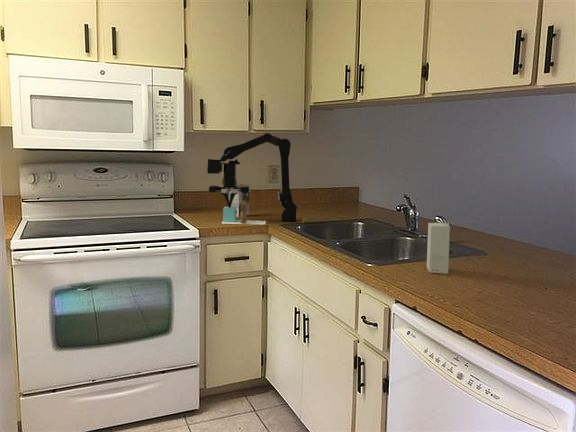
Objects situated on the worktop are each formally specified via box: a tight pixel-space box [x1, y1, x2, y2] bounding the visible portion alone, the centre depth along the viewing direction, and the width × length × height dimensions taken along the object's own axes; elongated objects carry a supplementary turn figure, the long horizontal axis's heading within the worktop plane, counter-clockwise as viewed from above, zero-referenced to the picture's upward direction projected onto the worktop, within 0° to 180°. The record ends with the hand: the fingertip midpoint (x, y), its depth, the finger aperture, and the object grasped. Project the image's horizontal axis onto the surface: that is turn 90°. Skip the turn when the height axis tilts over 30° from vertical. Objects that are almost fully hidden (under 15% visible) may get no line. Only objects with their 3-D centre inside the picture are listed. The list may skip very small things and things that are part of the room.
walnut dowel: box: [240, 212, 247, 225], centre depth 231 cm, size 3×3×6 cm
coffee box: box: [228, 183, 250, 218], centre depth 253 cm, size 9×6×16 cm
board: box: [221, 219, 267, 226], centre depth 235 cm, size 20×10×1 cm, turn 88°
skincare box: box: [426, 222, 451, 275], centre depth 157 cm, size 8×6×15 cm
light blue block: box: [222, 206, 237, 222], centre depth 235 cm, size 5×5×7 cm
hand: (229, 207), depth 235 cm, fingers closed, pressing on light blue block
